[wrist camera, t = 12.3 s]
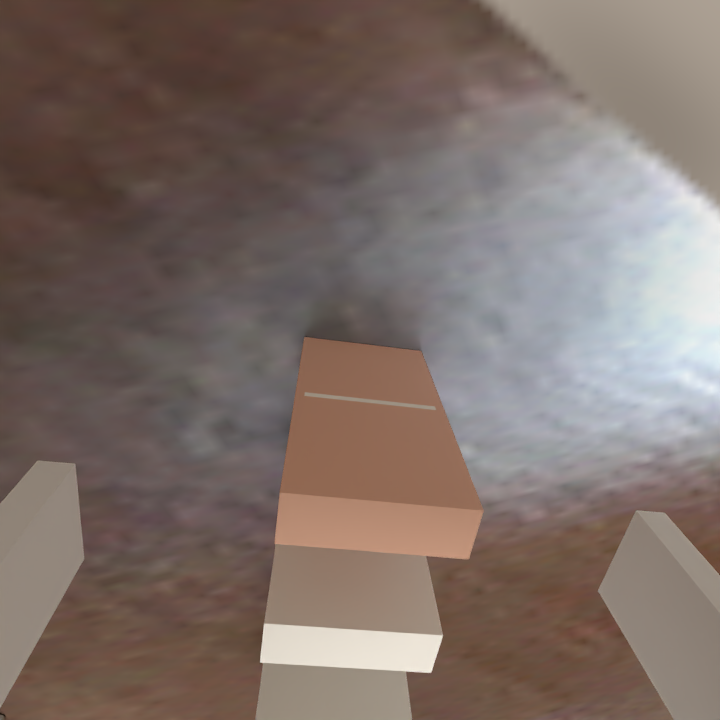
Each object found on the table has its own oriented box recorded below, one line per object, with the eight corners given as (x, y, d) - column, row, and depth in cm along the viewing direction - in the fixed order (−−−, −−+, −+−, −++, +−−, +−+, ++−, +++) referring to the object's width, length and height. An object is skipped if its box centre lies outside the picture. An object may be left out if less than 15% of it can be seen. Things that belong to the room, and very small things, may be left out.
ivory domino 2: (380, 539, 26) (404, 762, 17) (281, 530, 25) (251, 756, 16) (385, 514, 25) (413, 732, 16) (284, 505, 25) (254, 725, 15)
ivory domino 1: (394, 467, 24) (430, 672, 15) (289, 457, 23) (260, 663, 14) (401, 438, 23) (443, 635, 14) (293, 427, 23) (264, 623, 14)
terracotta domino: (414, 384, 22) (468, 559, 13) (300, 371, 22) (274, 544, 13) (421, 350, 22) (483, 510, 12) (304, 336, 21) (280, 491, 12)
